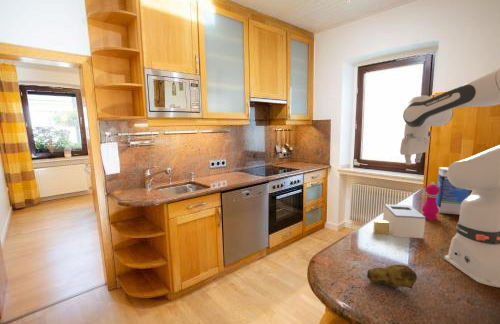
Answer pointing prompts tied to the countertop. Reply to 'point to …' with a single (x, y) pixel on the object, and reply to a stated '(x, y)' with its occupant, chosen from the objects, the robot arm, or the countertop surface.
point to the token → (381, 227)
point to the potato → (393, 276)
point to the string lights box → (449, 194)
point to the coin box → (404, 221)
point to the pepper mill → (431, 202)
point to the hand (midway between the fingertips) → (412, 163)
